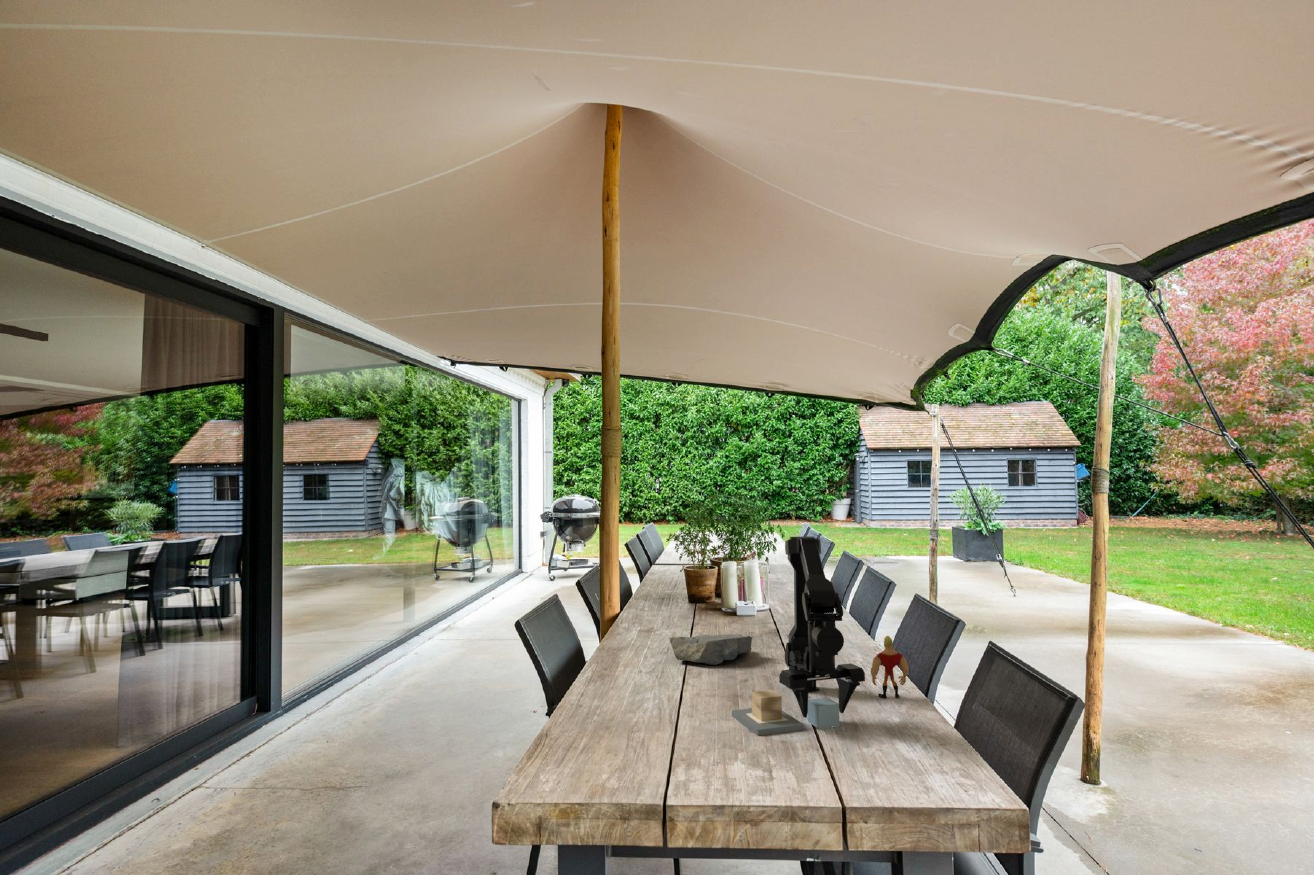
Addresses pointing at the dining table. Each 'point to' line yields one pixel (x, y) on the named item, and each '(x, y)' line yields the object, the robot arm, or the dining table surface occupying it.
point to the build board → (767, 723)
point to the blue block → (823, 712)
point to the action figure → (889, 666)
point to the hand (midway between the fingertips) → (823, 715)
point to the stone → (710, 647)
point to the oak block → (766, 705)
